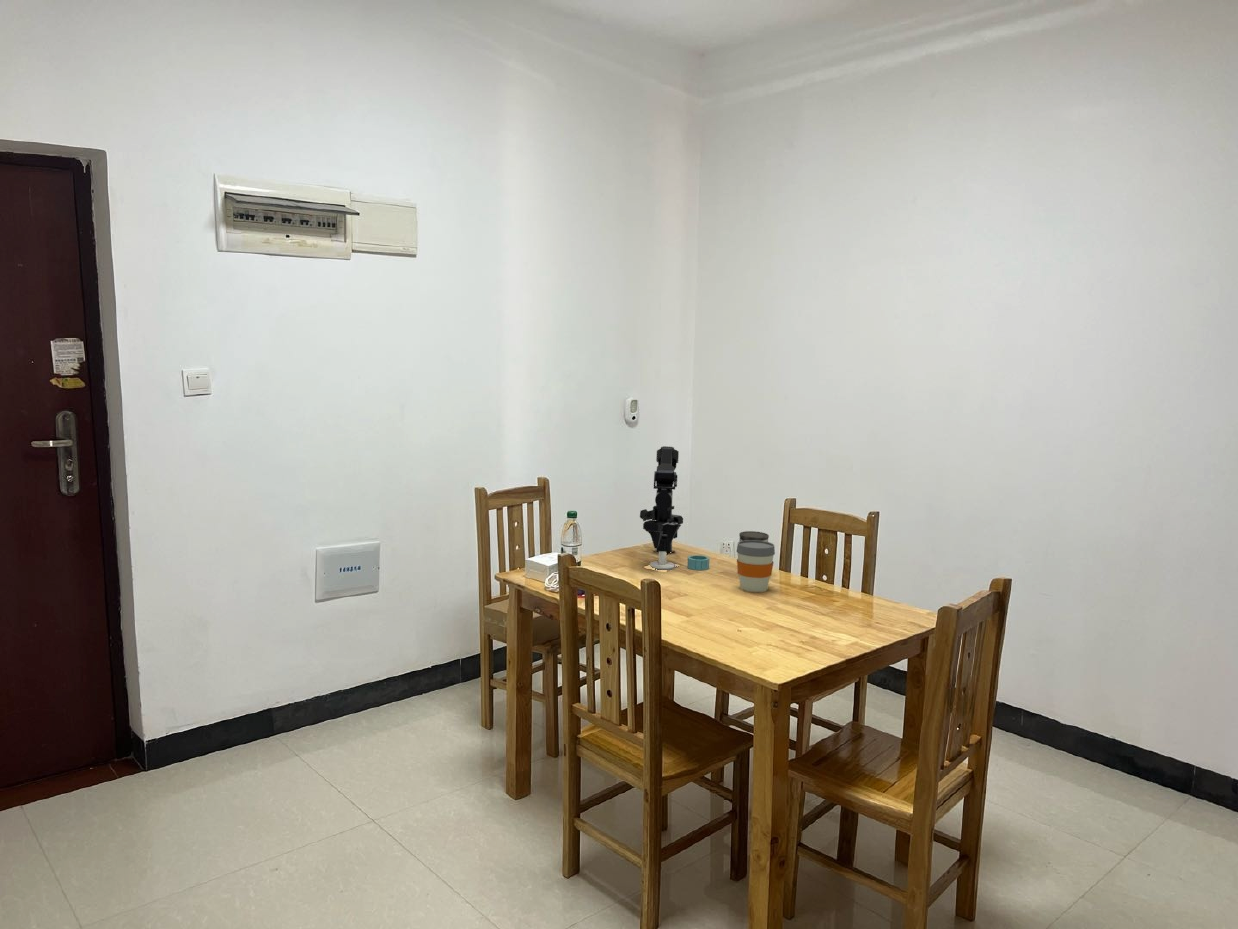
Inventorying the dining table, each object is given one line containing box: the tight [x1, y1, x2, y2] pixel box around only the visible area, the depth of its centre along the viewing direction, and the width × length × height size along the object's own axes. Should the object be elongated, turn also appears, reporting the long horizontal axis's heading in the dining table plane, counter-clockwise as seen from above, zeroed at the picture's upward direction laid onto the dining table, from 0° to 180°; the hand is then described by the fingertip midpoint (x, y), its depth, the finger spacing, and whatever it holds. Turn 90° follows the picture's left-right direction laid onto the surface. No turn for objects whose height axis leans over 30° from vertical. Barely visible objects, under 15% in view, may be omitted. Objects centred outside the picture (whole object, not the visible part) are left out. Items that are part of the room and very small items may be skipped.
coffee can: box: [738, 530, 770, 542], centre depth 305 cm, size 10×10×14 cm
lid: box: [649, 551, 675, 570], centre depth 310 cm, size 9×9×5 cm
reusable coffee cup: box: [736, 540, 776, 593], centre depth 285 cm, size 13×13×15 cm
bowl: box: [686, 554, 710, 571], centre depth 309 cm, size 8×8×4 cm
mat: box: [655, 562, 679, 571], centre depth 310 cm, size 14×10×1 cm
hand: (662, 546), depth 309 cm, fingers open, 9 cm apart
